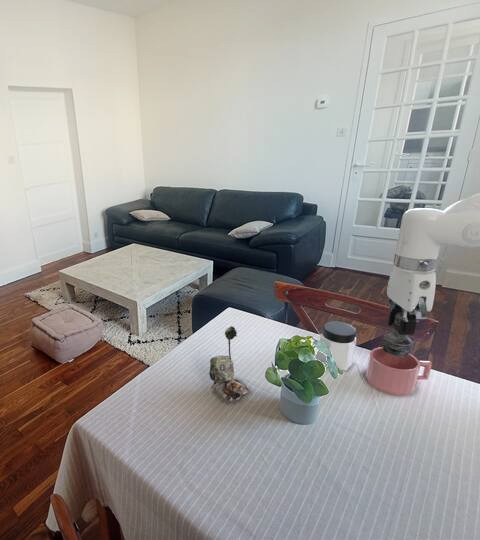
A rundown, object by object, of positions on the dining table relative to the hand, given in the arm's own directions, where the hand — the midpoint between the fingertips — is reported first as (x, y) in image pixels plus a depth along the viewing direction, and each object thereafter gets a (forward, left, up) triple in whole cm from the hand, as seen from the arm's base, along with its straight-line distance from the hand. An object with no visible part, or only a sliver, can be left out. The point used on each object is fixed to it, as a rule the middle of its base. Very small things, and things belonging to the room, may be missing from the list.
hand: (400, 328), depth 86 cm
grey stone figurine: (0, 0, -7) cm, 7 cm away
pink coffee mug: (-2, 0, -17) cm, 17 cm away
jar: (+10, -9, -17) cm, 22 cm away
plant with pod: (+43, +5, -17) cm, 47 cm away
